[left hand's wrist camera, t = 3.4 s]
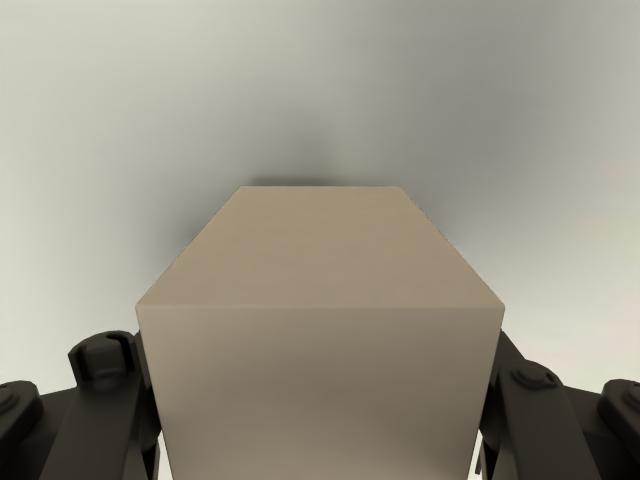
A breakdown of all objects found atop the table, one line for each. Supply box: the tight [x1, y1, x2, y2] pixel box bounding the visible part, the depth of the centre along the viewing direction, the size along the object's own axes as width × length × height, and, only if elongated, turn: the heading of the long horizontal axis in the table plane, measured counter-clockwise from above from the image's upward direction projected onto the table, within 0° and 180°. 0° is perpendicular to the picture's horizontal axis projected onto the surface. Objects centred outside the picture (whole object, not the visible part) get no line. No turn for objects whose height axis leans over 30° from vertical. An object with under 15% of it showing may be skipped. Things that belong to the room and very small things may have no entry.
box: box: [135, 186, 505, 480], centre depth 14 cm, size 20×6×8 cm, turn 0°
